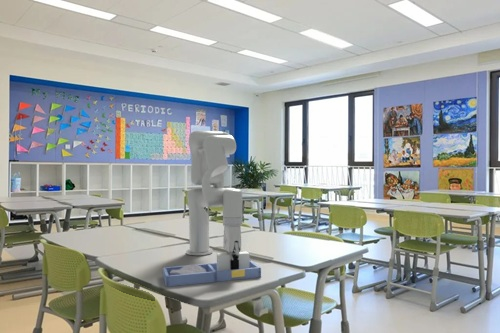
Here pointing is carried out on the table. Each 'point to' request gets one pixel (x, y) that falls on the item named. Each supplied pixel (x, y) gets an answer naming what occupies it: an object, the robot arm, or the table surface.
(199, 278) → the blue divided tray
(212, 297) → the table surface
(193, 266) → the grey grainy mound
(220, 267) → the white rectangular block
